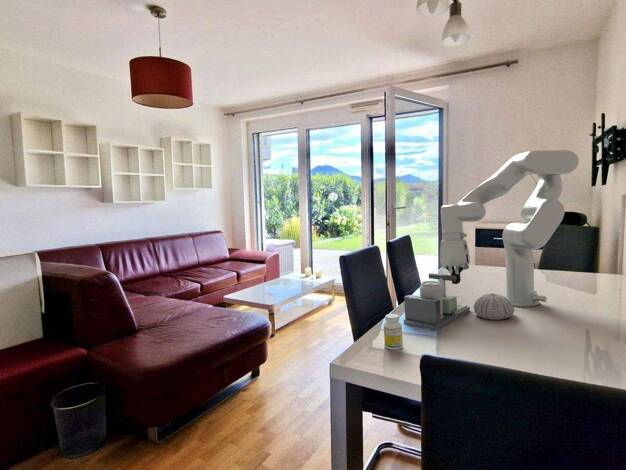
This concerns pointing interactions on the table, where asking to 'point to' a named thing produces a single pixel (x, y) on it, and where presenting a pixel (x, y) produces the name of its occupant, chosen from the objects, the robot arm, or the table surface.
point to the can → (432, 291)
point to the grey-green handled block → (447, 300)
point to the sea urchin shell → (493, 307)
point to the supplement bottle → (393, 332)
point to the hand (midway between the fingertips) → (456, 283)
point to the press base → (429, 312)
